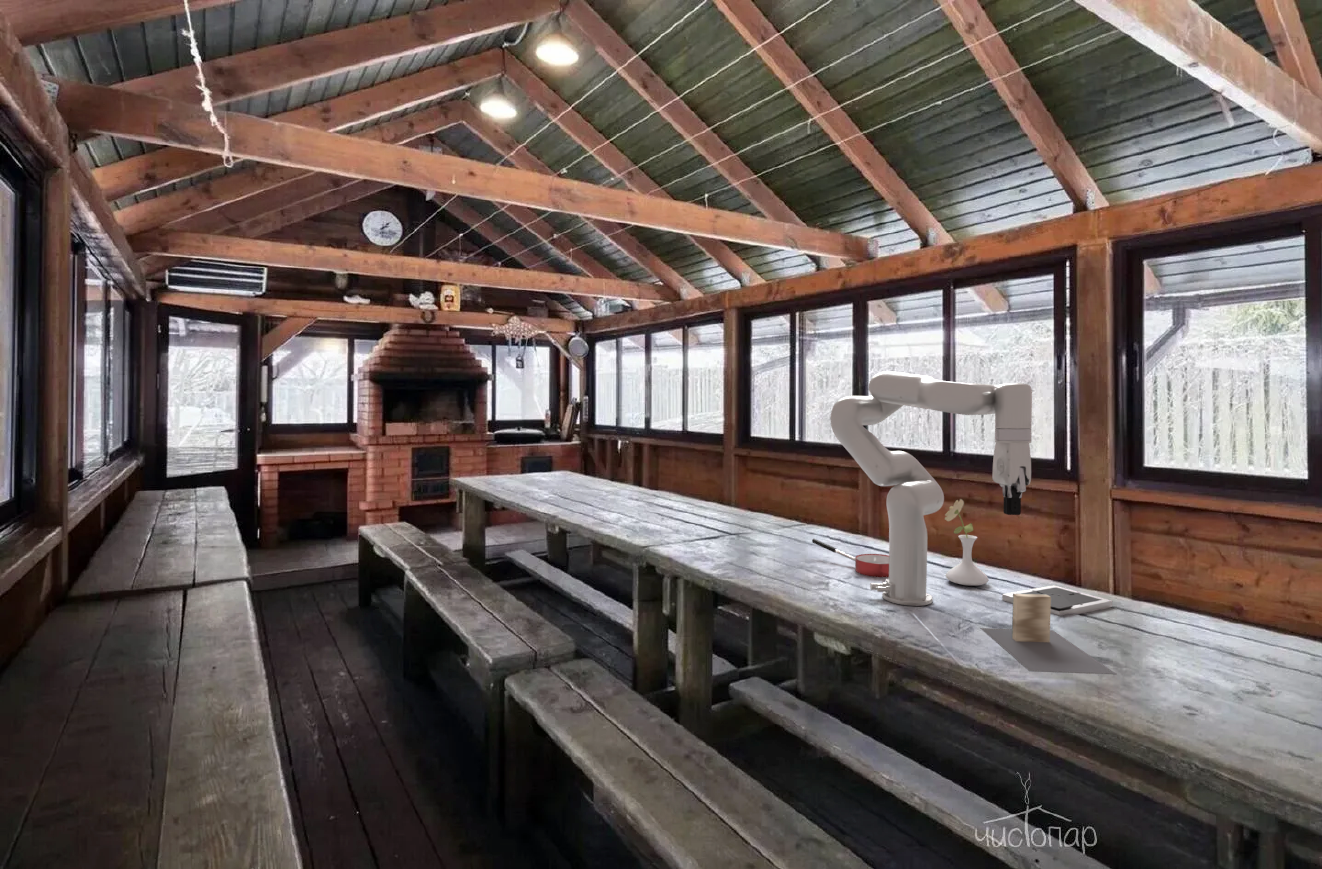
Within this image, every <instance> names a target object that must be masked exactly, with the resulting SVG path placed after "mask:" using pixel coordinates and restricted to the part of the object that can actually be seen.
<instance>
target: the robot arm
mask: <svg viewBox="0 0 1322 869" xmlns="http://www.w3.org/2000/svg"><path fill="white" fill-rule="evenodd" d="M869 380H870V381H869V383H868V391H869V394H870V395H851V396H850V395H849V396H845V397H841V398H840V399H838V400H837V401H835V403H834V404H833V406H832V409H831V412H830V426H831V431H832V432H833V434H834V436H835V437H836V439H837V441H838V442H839V443H840V444H841V446H843V447H844V448H845V450H846V451H847V452H848V453H849V455H850V456H851V457H852V459H854V461H855V462H856V463H857V464H858V466H859V467H860V469H862V471H863V472H864V474H866V476H867V477H868V478H869V479H870V480H871V481H872V483H873V484H875V485H877V486H880V487H891V486H892V487H891V488H890V490H889V491H888V492H887V496H886V499H885V500H886V503H885V504H886V511H887V516H888V528H889V530H888V531H889V532H888V542H889V544H888V547H889V548H888V556H889V577H888V578H886V579H885V582H884V581H882V582H881V583H878V582H870V584H869V588H870V591H877V593H879V592H880V593H881V594H882V596H881V597H882V598H883V599H884V600H886V602H889V603H892V604H896V605H897V604H898V605H902V606H912V607H919V606H922V607H923V606H926V605H930V604H932V603H933V599H934V598H933V595H931V594H930V593H927V580H928V578H927V576H928V566H927V565H928V529H927V525H926V521H925V518H924V516H926V515H927V516H928V515H930V514H931V515H932V514H934V513H936V512H938V511H939V510H941V508H942V507H943V505H944V502H945V496H944V495H945V494H944V492H943V490H942V487H941V486H940V485H939V483H938V482H937V481H936V479H935V478H934V477H933V476H932V475H931V474H930V473H929V471H927V469H926V468H925V467H924V466H923V465H922V464H921V463H920V462H919V460H918V459H916V457H914V456H913V454H910V453H909V452H906V451H902V450H889V449H888V448H887V447H886V446H885V445H883V443H882V442H881V441H880V440H879V438H877V436H875V434H874V433H872V432H871V431H870V430H868V429H866V428H865V427H864V426H874V425H877V424H879V423H881V422H884V420H886V419H887V418H889V417H890V416H891V415H893V414H894V413H896V412H897V411H898V410H900V409H901V408H902V407H904V406H905V407H906V406H907V407H912V408H918V409H924V410H929V411H930V410H932V411H936V412H942V413H948V414H949V413H950V414H956V415H962V416H976V415H977V416H982V415H983V416H985V415H993V414H994V444H995V445H994V450H993V462H992V480H993V482H994V483H997V484H999V486H1000V487H1001V488H1002V496H1003V514H1004V515H1008V516H1013V515H1014V516H1019V515H1021V514H1022V497H1023V493H1024V492H1026V491H1027V486H1029V485H1030V484H1031V480H1032V457H1031V455H1032V454H1031V448H1030V444H1032V426H1033V425H1032V423H1033V422H1032V414H1033V412H1032V411H1033V409H1032V406H1033V404H1032V403H1033V389H1032V386H1030V385H1029V384H1028V383H1021V382H1020V383H1015V382H1014V383H1002V384H991V383H968V382H957V381H956V382H955V381H946V380H939V379H935V378H933V376H930V375H924V374H923V375H922V374H914V373H906V372H901V371H900V372H899V371H881V372H878V373H876V374H874V375H873V376H872V377H871V379H869Z"/></svg>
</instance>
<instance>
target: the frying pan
mask: <svg viewBox="0 0 1322 869" xmlns="http://www.w3.org/2000/svg"><path fill="white" fill-rule="evenodd" d="M811 541H812V542H811V543H812V544H815V545H817V546H819V547H821V548H823V549H826V550H828V551H830V552H832V553H835V554H838V555H840V556H843V557H845V558H847V559H849V560H852V561H853V562H854V564H855V567H854V570H855V571H856V573H858V574H859V573H860V575H863V576H867V577H872V578H880V579H881V578H882V579H883V578H884V579H885V578H886V579H889V554H882V553H878V554H877V553H864V554H863V553H862V554H858V555H856V556H852V555H850V554H848V553H846V552H844V551H841V550H839V549H837V548H836V547H833V546H831V545H829V544H828V543H825V542H823V541H820V540H819V539H816V538H813V539H812V540H811Z"/></svg>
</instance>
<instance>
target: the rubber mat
mask: <svg viewBox="0 0 1322 869" xmlns="http://www.w3.org/2000/svg"><path fill="white" fill-rule="evenodd" d="M980 629H981V630H982V632H984V633H985V634H986V635H987V636H989V638H991V639H992V640H993V641H994V642H995V643H997V644H998V645H999V646H1000V647H1001V648H1002V649H1004V651H1006V652H1007V653H1008V654H1009V655H1010V656H1011V657H1012V658H1014V659H1015V660H1016V661H1017V662H1018V663H1019V664H1021V666H1023V667H1024V668H1025V669H1027V670H1028V671H1029V672H1040V673H1041V672H1044V673H1046V672H1047V673H1068V674H1069V673H1073V674H1099V675H1100V674H1101V675H1117V673H1116V672H1114V671H1113V670H1111V669H1110V668H1108V667H1107V666H1105V664H1103V663H1101V662H1100V661H1098V660H1097V659H1096V658H1094V657H1093V656H1091V655H1090V654H1088V653H1087V652H1085V651H1083V650H1082V649H1081V648H1079V647H1078V646H1076V645H1075V644H1074V643H1072V642H1071V641H1070V640H1068V639H1066V638H1065V637H1063V636H1062V635H1060V633H1058V632H1056V631H1055V630H1053V629H1050V642H1024V641H1015V640H1014V639H1013V638H1012V628H990V627H980Z"/></svg>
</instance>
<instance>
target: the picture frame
mask: <svg viewBox="0 0 1322 869" xmlns="http://www.w3.org/2000/svg"><path fill="white" fill-rule="evenodd" d="M1013 594H1047V595H1048V596H1050V597H1051V612H1050V614H1053V615H1056V616H1063V615H1068V614H1077V615H1079V614H1085V613H1090V612H1093V611H1099V610H1104V609H1110V608H1113V600H1111V599H1107V598H1103V597H1099V596H1097V595H1092V594H1089V593H1085V592H1081V591H1078V590H1077V591H1076V590H1074V589H1070V588H1066V587H1063V586H1059V585H1054V584H1052V585H1047V586H1041V587H1035V588H1030V589H1024V590H1018V591H1013V592H1007V593H1002V596H1001V597H1002V598H1001V599H1002V601H1004V602H1007V603H1010V604H1013Z"/></svg>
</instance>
